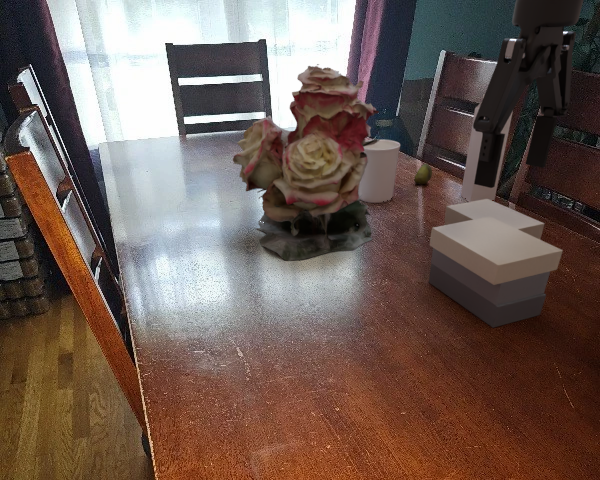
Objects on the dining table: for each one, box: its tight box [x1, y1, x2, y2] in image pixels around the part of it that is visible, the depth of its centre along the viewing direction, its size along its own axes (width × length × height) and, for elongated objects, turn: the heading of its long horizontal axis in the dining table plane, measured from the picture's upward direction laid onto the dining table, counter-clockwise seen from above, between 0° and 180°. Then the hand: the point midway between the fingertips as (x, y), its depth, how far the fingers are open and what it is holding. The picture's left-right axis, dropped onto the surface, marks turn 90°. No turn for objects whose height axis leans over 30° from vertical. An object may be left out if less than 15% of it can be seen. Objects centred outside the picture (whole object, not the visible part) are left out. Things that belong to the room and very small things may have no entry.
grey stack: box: [428, 247, 551, 329], centre depth 81 cm, size 17×9×7 cm, turn 23°
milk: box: [460, 93, 514, 202], centre depth 115 cm, size 6×6×22 cm
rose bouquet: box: [232, 63, 381, 261], centre depth 97 cm, size 26×29×30 cm
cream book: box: [429, 216, 564, 285], centre depth 78 cm, size 16×12×3 cm
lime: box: [413, 163, 433, 185], centre depth 131 cm, size 4×5×5 cm
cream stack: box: [443, 199, 545, 240], centre depth 98 cm, size 16×10×6 cm, turn 23°
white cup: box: [358, 139, 401, 204], centre depth 121 cm, size 10×10×12 cm
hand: (510, 175), depth 73 cm, fingers open, 13 cm apart
